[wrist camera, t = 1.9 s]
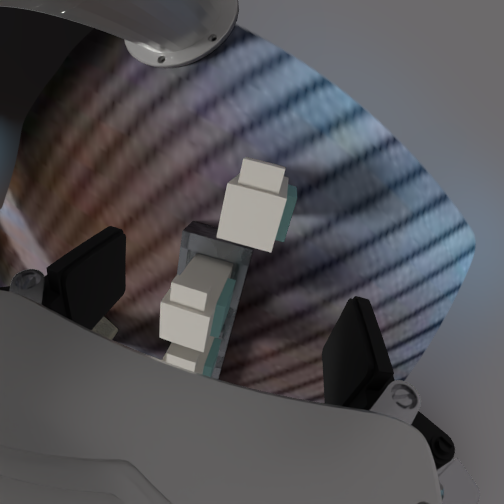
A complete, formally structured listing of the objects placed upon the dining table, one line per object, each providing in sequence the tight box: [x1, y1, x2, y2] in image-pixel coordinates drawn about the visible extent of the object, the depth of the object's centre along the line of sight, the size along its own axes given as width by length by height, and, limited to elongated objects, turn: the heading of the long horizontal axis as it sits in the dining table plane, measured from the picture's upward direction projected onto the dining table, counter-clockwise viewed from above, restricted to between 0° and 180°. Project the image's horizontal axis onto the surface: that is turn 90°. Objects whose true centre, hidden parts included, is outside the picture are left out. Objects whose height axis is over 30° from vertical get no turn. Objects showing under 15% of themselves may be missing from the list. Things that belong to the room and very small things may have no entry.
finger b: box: [162, 336, 221, 377], centre depth 28 cm, size 6×5×9 cm
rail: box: [177, 221, 254, 379], centre depth 33 cm, size 25×7×3 cm, turn 166°
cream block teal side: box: [159, 253, 236, 352], centre depth 25 cm, size 6×5×9 cm
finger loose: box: [216, 157, 297, 253], centre depth 22 cm, size 6×5×9 cm
